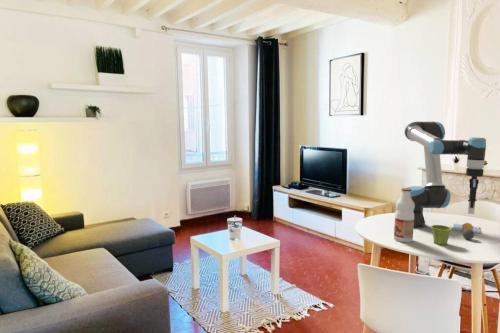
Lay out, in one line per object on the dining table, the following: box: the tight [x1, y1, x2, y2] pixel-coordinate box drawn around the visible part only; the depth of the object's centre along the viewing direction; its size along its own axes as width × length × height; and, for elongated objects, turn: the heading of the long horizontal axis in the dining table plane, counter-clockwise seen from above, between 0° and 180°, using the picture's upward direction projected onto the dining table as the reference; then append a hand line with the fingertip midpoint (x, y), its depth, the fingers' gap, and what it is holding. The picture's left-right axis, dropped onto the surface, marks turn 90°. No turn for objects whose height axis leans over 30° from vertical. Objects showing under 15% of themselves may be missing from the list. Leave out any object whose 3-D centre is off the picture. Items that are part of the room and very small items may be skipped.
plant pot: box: [431, 224, 452, 246], centre depth 193 cm, size 9×9×9 cm
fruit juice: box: [393, 187, 415, 243], centre depth 197 cm, size 9×9×28 cm
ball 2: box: [462, 229, 475, 240], centre depth 201 cm, size 6×6×6 cm
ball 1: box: [461, 222, 473, 232], centre depth 213 cm, size 6×6×6 cm
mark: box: [452, 223, 482, 234], centre depth 221 cm, size 14×14×1 cm
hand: (471, 213), depth 191 cm, fingers closed
